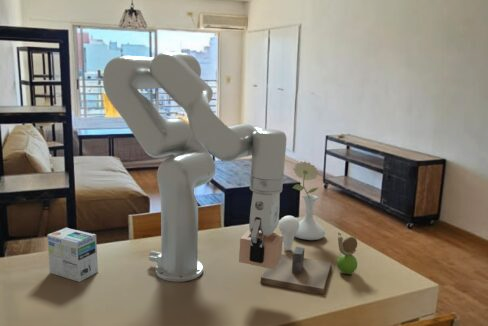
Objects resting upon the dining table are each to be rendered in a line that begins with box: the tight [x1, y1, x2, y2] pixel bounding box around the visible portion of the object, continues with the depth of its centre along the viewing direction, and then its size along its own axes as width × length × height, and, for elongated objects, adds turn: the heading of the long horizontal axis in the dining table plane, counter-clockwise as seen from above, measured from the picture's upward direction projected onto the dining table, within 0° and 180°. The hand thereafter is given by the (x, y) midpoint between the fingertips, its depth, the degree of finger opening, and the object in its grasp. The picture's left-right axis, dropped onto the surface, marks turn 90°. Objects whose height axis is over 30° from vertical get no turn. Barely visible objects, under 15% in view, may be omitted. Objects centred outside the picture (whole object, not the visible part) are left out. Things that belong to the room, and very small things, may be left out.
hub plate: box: [260, 246, 332, 295], centre depth 117 cm, size 16×16×7 cm
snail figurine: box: [336, 232, 358, 275], centre depth 118 cm, size 5×6×12 cm
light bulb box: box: [47, 227, 99, 283], centre depth 113 cm, size 11×7×11 cm, turn 65°
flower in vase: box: [292, 161, 326, 241], centre depth 143 cm, size 13×11×25 cm
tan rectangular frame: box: [238, 228, 284, 269], centre depth 104 cm, size 7×9×6 cm
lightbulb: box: [278, 215, 300, 251], centre depth 132 cm, size 6×6×11 cm
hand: (260, 254), depth 104 cm, fingers closed on tan rectangular frame, 6 cm apart
